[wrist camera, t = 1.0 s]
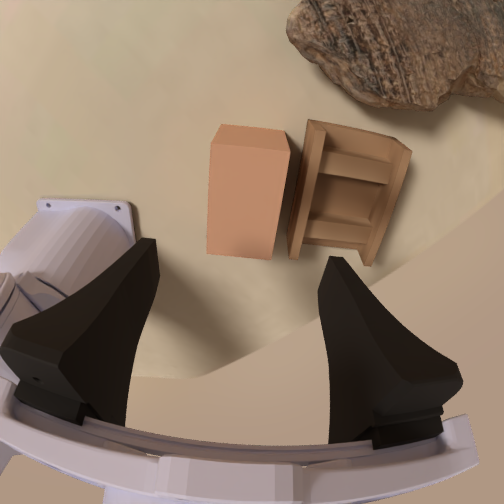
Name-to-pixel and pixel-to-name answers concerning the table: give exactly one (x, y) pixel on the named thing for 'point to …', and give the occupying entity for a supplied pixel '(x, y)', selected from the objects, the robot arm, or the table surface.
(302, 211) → the rack
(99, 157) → the table surface
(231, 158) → the clay bar
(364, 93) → the rough brown rock
